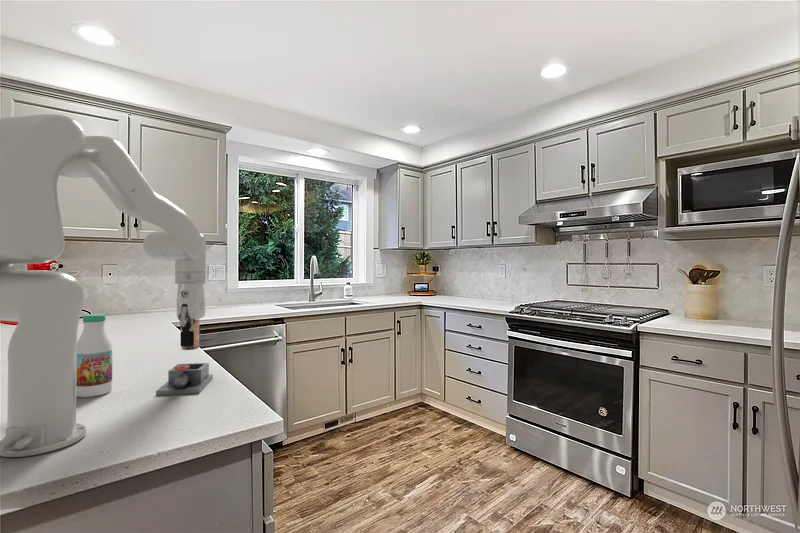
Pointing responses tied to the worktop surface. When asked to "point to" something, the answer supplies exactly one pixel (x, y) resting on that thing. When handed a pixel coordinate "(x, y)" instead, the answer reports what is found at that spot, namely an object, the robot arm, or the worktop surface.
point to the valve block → (186, 379)
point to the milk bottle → (94, 358)
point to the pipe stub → (196, 336)
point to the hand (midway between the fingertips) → (190, 343)
